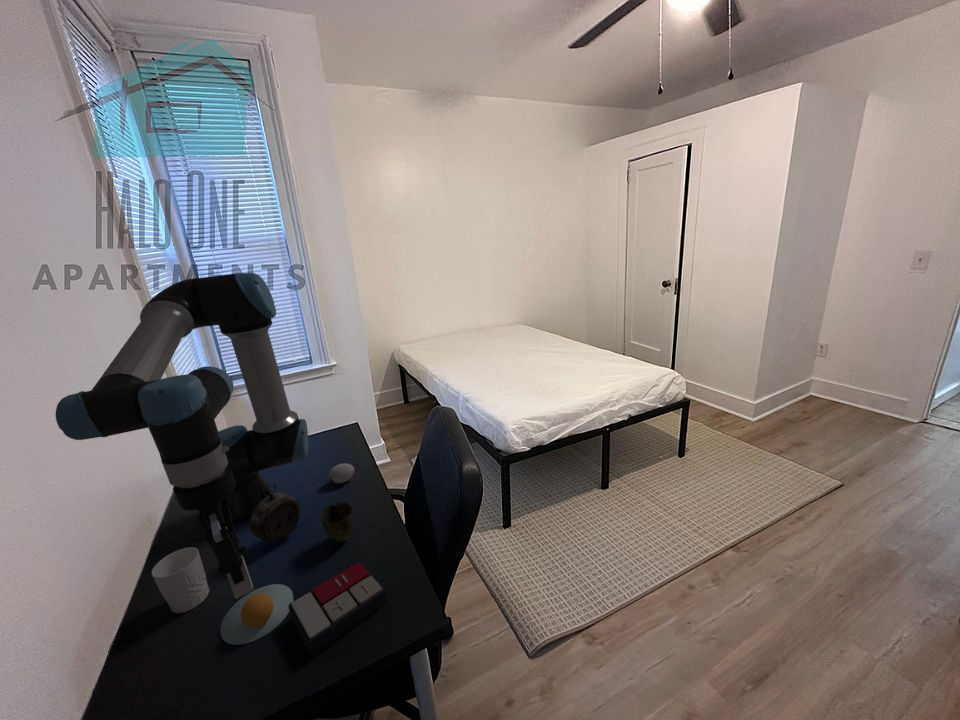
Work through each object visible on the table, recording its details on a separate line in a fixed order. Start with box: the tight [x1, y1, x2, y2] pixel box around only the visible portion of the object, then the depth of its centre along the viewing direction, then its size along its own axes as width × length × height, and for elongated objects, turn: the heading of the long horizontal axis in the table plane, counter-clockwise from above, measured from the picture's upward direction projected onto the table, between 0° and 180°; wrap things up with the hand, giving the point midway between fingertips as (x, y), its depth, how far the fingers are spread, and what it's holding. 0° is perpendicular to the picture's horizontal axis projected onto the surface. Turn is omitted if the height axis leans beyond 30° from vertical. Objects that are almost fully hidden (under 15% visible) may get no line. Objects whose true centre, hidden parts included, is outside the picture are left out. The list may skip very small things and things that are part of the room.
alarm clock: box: [249, 481, 301, 551], centre depth 95 cm, size 11×5×16 cm, turn 150°
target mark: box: [219, 583, 294, 646], centre depth 78 cm, size 13×13×1 cm
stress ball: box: [328, 463, 356, 487], centre depth 120 cm, size 8×8×7 cm
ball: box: [241, 594, 273, 627], centre depth 75 cm, size 6×6×6 cm
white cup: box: [150, 546, 210, 614], centre depth 81 cm, size 8×8×10 cm
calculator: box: [289, 561, 388, 658], centre depth 76 cm, size 11×4×15 cm
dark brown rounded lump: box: [319, 501, 354, 544], centre depth 95 cm, size 8×7×8 cm
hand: (244, 591), depth 67 cm, fingers closed
